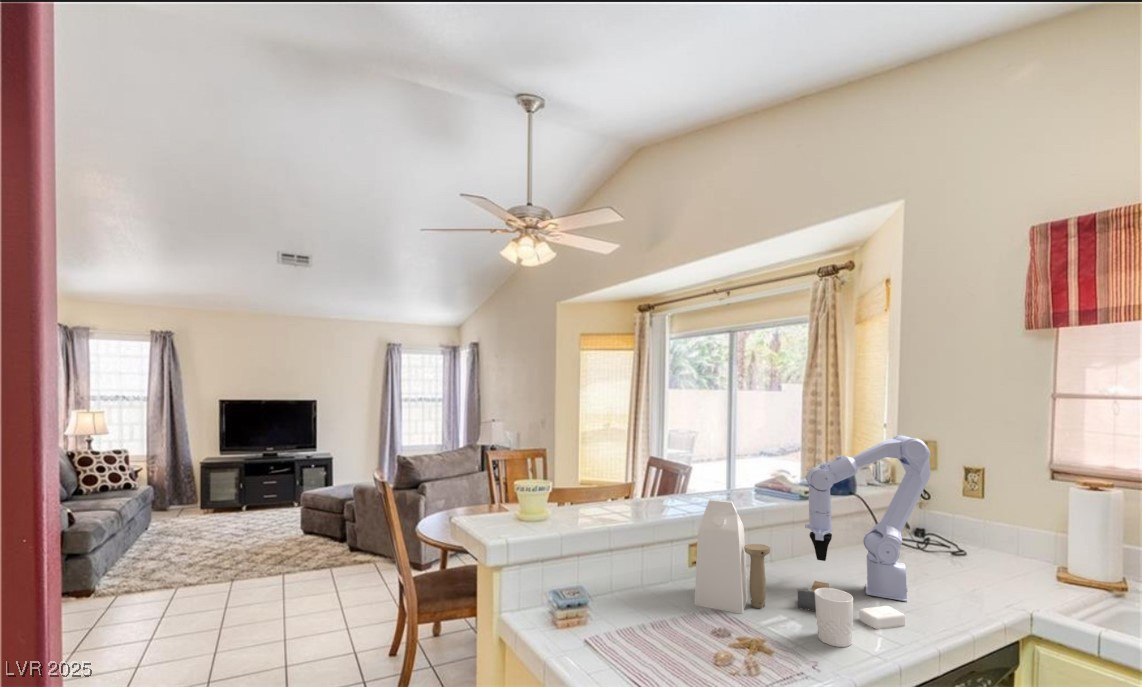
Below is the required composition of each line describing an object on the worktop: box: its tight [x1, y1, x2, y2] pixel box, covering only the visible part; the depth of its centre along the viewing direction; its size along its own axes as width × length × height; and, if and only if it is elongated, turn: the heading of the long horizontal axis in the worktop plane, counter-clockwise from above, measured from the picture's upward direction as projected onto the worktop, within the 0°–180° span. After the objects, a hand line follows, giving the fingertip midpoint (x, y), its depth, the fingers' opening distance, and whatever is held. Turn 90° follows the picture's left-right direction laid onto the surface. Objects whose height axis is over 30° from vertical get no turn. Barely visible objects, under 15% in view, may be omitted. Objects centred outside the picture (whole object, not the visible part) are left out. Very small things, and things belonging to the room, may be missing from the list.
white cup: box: [815, 587, 854, 648], centre depth 119 cm, size 8×8×10 cm
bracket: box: [797, 587, 816, 612], centre depth 136 cm, size 6×10×4 cm
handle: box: [744, 543, 771, 609], centre depth 136 cm, size 5×6×15 cm
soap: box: [858, 605, 906, 630], centre depth 128 cm, size 9×6×3 cm, turn 104°
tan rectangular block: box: [810, 580, 830, 592], centre depth 139 cm, size 10×4×4 cm, turn 148°
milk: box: [694, 499, 749, 615], centre depth 140 cm, size 12×12×26 cm
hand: (821, 559), depth 149 cm, fingers closed
